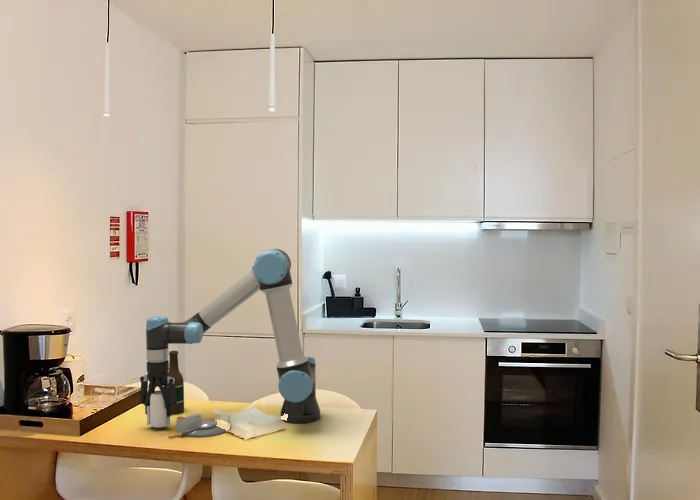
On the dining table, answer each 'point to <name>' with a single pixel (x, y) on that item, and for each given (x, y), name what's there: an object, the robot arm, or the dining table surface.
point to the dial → (193, 423)
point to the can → (157, 409)
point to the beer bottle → (178, 384)
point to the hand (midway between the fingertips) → (158, 424)
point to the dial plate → (205, 432)
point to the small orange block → (173, 436)
